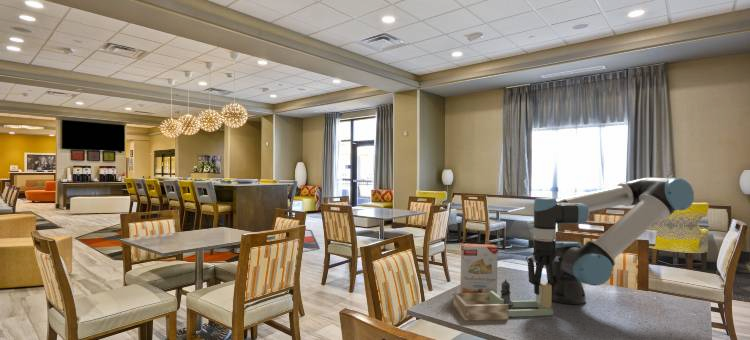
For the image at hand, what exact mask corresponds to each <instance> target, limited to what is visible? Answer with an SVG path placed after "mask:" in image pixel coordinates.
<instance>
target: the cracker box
mask: <svg viewBox="0 0 750 340" xmlns="http://www.w3.org/2000/svg"><path fill="white" fill-rule="evenodd" d="M460 248H461V251H460V282H459V283H460V284H459V285H460V287H459V288H460V289H459V290H460V291H459V292H460V293H489V291H493V292H495V293H496V294H497V293H498V291H497V290H498V261H499V260H498V255H499V253H498V252H499V251H498V249H499V247H497V245H495V244H483V243H482V244H478V243H461V247H460ZM497 295H498V294H497Z"/></svg>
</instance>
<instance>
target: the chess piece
mask: <svg viewBox="0 0 750 340" xmlns="http://www.w3.org/2000/svg"><path fill="white" fill-rule="evenodd" d="M510 286H511V284H510V282H509V281H507V279H505V280H504V281H502V282H501V290H500V297H501V298H502V299H504V304H508V310H512V308H514V307H513V304H514V302H512V301H513V300H511V291H510V290H511V287H510Z"/></svg>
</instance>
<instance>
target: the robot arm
mask: <svg viewBox="0 0 750 340" xmlns="http://www.w3.org/2000/svg"><path fill="white" fill-rule="evenodd" d="M694 192H695V191H694V188H693V187H692V185H691V184H690V183H689V182H688V180H685V179H683V178H680V177H678V178H677V177H674V176H673V177H671V176H670V177H658V176H657V177H653V176H647V177H642V178H637V179H633V180H630V181H629V180H628V181H625V182H620V183H618V184H617V186H614V187H610V188H609V187H608V188H603V189H599V190H594V191H588V192H586V193H585V192H584V193H581V194H576V195H570V196H566V197H562V198H561V197H560V198H555V197H536V198H535V199H534V201H533V202H534V203H533V238H534V239H533V252H532V255H530V256H526V257H525V259H526V262H527V270H528V271H527V273H528V283H530V284H531V285H533V292H534V294H535V300H536V302H537V303H539V304H542V286H540V282H541V281H542V275H543V274H542V273H543V269H544V267H545V272H546V273H545V274H546V280H547V281H546V282H547V283H548V284H550V285H551V302H552V301H553V302H555V303H560V304H565V305H581V304H584V303H586V298H587V297H586V293H585V290H584V287H583V284H585V285H589V286H594V287H596V286H601V285H604V284H605V283H607V282H608V281H609V280H610V279H611V277H612V276H613V273H612V272H613V271H614V269H613V268H614V266H615V265H616V258H617V257H619V255H620V254H622V253H623V252H624V251H625V250H626V249H627V248H628V247H629V246H630V245H632V244H633V243H634V242H635V241H636V240H637V239H639V238H640V237H641V236H642V235H643V234H644V233H645V232H646V231H647V230H648V229H649V228H650V227H652V226H653V225H654V224H655V223H656V222H658V220H659V219H662V218H663V219H666V218H669V217H670V216H671V215H672V214H673V213H674V212H675V211H684V210H687V209H689V208H690V207H691V206H692V205H693V202H694V199H695V195H694V194H695V193H694ZM618 206H625V207H630V206H633V207H632V208H631V209H630V210H629V211H627V212H626V213H625V214H624V215H623V216H621V218H619V219H618V220H617V221H616V222H615V223H614V224H612V226H610V227H609V228H608V229H607V230H606V231H605V232H604V233H603V234H601V235H600V236H599V237H598V238H597V239H596V240H588V241H587V242H586V243H585V244H584V245H582V243H581V242H579V241H578V242H577V241H555V240H556V239H557V235H556V233H557V232H556V229H557V228H556V227H557V224H576V225H578V224H584V223H587V222H588V220H589V218H590V212H594V211H598V210H603V209H608V208H613V207H618ZM534 262H535V263H534Z"/></svg>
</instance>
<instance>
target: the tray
mask: <svg viewBox="0 0 750 340" xmlns="http://www.w3.org/2000/svg"><path fill="white" fill-rule="evenodd" d="M547 282H548V281H544V280H543V281H542V280H541V282H540V286H542V304H539V303H537V302H536V299H532V300H527V299H526V300H511V301H512V302H514V304H513V307H512V308H517V309H510V310H508V317H533V316H534V317H538V316H539V317H540V316H553V313H554V312H553V311H554V310H553V309H552V300H551V285H550V284H548V283H547ZM489 304H504V299H502V298H501V295H499V294H496V293H495V292H493V291H489ZM523 307H524V308H523ZM525 307H526V308H527V309H525ZM529 307H537V308H529ZM518 308H519V309H518ZM520 308H521V309H520ZM522 308H523V309H522Z"/></svg>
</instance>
